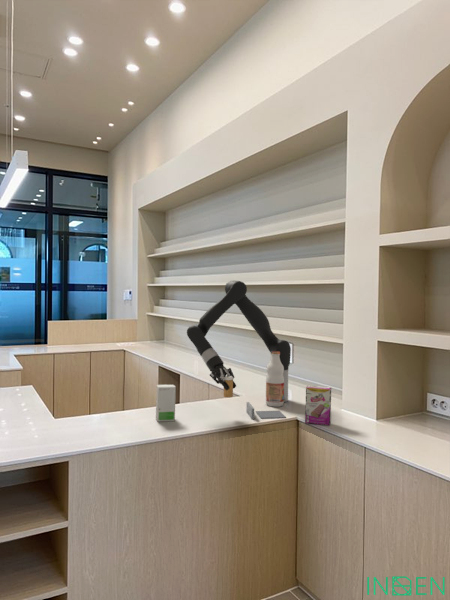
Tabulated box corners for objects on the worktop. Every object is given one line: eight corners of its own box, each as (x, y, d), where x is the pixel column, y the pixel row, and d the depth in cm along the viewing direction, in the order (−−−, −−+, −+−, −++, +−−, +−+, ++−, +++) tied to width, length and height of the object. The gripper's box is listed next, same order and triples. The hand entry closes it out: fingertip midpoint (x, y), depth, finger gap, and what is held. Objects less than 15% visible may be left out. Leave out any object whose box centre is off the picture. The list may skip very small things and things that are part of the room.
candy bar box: (304, 423, 200) (305, 387, 199) (305, 420, 204) (306, 385, 204) (330, 426, 197) (331, 389, 196) (331, 422, 201) (331, 386, 201)
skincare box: (157, 422, 199) (157, 387, 199) (155, 418, 206) (155, 384, 206) (175, 420, 202) (176, 386, 202) (173, 417, 208) (173, 383, 208)
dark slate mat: (255, 411, 219) (255, 411, 219) (279, 411, 221) (279, 410, 221) (261, 418, 207) (261, 417, 207) (286, 417, 209) (286, 417, 209)
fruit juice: (262, 403, 236) (263, 350, 235) (277, 402, 240) (278, 350, 240) (271, 407, 227) (272, 353, 227) (287, 406, 231) (287, 352, 231)
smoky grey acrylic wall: (246, 412, 218) (246, 402, 218) (248, 412, 218) (248, 401, 218) (251, 419, 205) (251, 408, 205) (254, 419, 206) (254, 408, 205)
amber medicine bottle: (222, 395, 211) (222, 376, 211) (232, 395, 212) (232, 376, 211) (223, 397, 206) (224, 378, 206) (233, 397, 207) (234, 378, 207)
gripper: (206, 356, 208) (226, 385, 200) (225, 353, 219) (245, 381, 211) (198, 366, 211) (217, 395, 204) (217, 363, 222) (236, 390, 215)
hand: (231, 388), depth 208 cm, fingers closed on amber medicine bottle, 4 cm apart
